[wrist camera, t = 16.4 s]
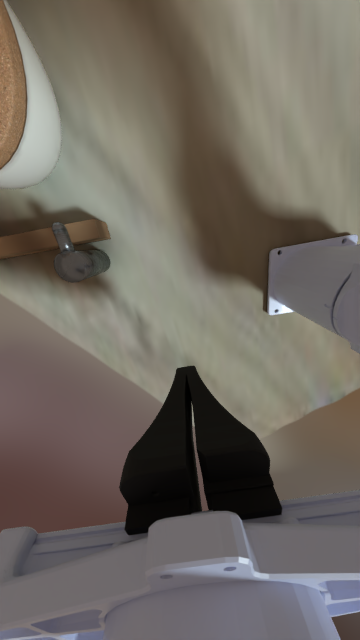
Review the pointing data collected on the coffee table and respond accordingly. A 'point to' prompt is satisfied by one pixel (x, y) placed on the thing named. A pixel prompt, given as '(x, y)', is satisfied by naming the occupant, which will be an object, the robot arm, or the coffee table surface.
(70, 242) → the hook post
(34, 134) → the lidded jar
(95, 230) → the walnut shelf
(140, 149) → the coffee table surface
